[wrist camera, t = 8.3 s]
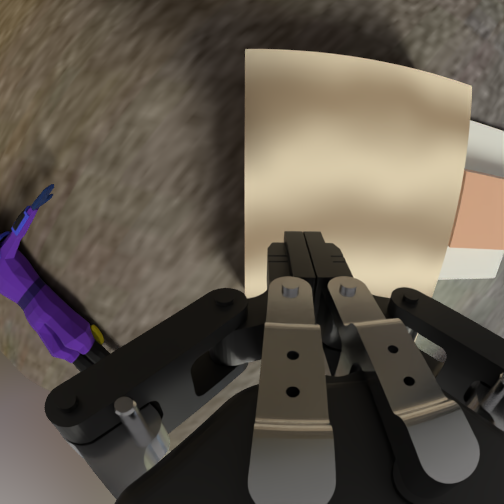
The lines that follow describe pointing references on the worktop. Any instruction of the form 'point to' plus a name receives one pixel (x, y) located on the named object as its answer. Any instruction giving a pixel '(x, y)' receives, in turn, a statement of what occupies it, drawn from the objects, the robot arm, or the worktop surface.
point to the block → (353, 163)
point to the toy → (46, 299)
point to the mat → (491, 162)
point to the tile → (479, 212)
